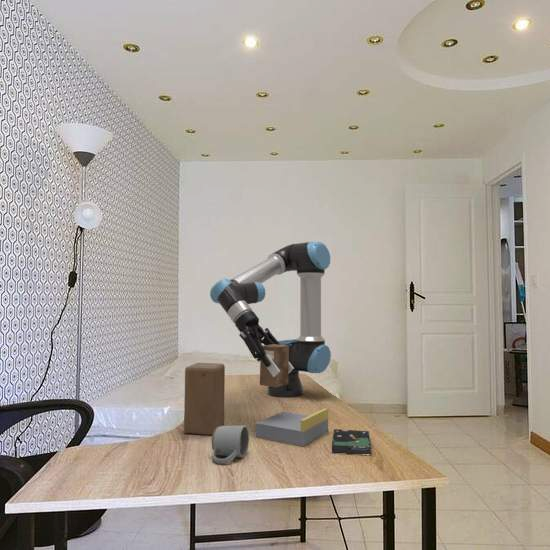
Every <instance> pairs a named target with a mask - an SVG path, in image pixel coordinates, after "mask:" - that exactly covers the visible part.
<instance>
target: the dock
mask: <svg viewBox="0 0 550 550" xmlns="http://www.w3.org/2000/svg"><path fill="white" fill-rule="evenodd" d="M326 432H327V433H329V408H327V407H326V408H323V409H320V410H319V411H316V412H314V413H312V414H311V415H308V414H301V413H295V412H289V411H281V412H279V413H275V414H274V415H271V416H269V417H267V418H264V419H262V420H260V421H257V422H255V438H259V439H265V440H269V441H273V442H274V441H275V442H280V443H285V444H289V445H294V446H299V447H305V446H307V445H309V444H310V443H312V442H314V441H315V440H317V439H319V438H320V437H322V436H324V435H326V434H327V433H326ZM323 434H324V435H323Z"/></svg>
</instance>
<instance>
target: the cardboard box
mask: <svg viewBox="0 0 550 550" xmlns="http://www.w3.org/2000/svg"><path fill="white" fill-rule="evenodd" d="M262 347H263V349H264V351H265V353H266V355H269V356H270V358H271V359H272V360H273V362H274V363H275V365H276V366H277V367H278V369H279V370H280V372H279V373H278V374H277V375H276V376H275V377H273V376H272V374H271V373H270V372H269V370H268V369H267V367H266V366H265V365H264V363H263V362H262V361H261V360H260V361H259V363H260V364H259V365H260V366H259V385H260V386H265V387H269V386H270V387H279V386H283V385H287V384H288V368H289V346H286V345H275V344H272V345H264V344H263V345H262ZM266 355H265V356H266Z"/></svg>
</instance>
